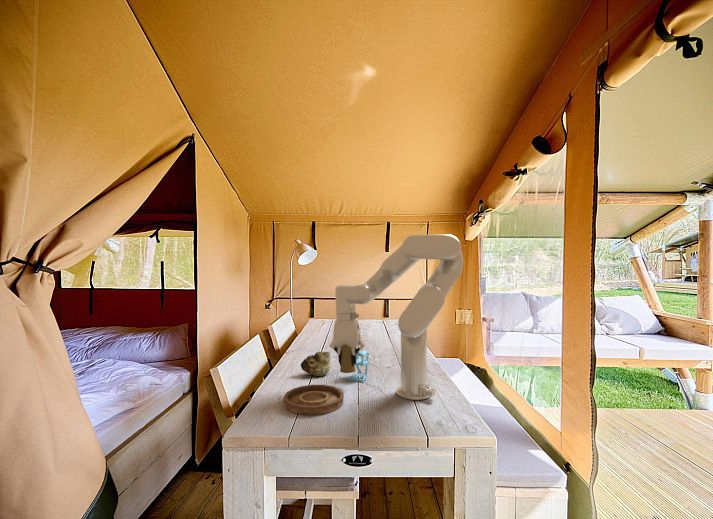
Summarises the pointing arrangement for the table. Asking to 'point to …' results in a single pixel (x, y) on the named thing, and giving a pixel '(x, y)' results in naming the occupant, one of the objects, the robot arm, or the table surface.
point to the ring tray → (313, 399)
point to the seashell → (317, 364)
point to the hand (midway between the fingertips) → (347, 364)
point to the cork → (346, 360)
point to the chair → (361, 363)
